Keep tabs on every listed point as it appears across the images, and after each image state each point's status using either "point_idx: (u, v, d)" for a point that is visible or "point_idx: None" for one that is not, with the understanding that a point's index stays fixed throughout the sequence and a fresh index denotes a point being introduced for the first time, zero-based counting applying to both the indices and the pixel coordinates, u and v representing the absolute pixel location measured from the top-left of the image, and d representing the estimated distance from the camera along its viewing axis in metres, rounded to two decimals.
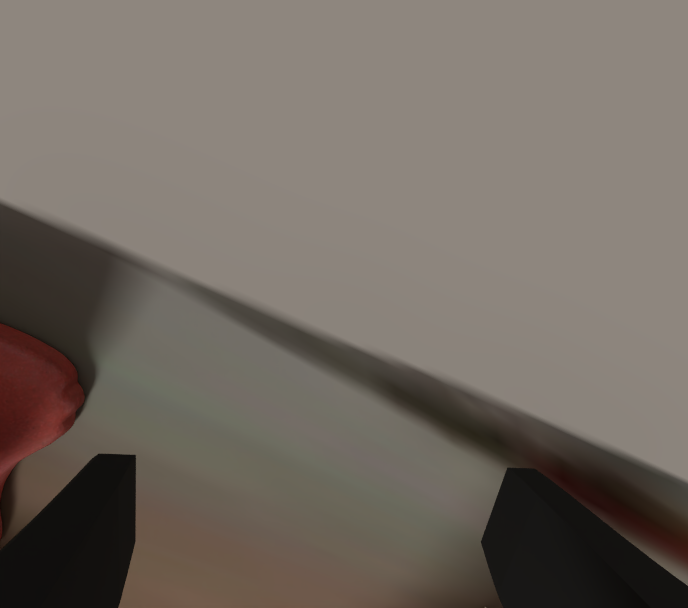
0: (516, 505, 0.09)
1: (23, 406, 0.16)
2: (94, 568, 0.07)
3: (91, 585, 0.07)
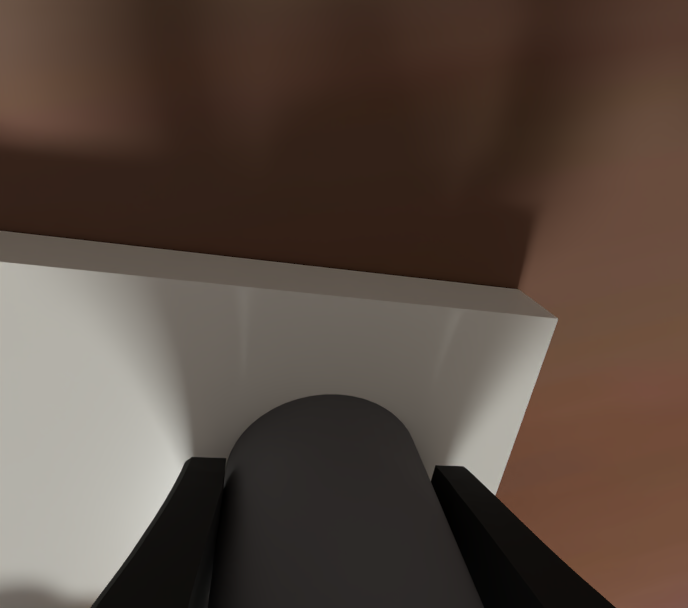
0: (441, 504, 0.09)
1: None
2: (207, 567, 0.07)
3: (204, 583, 0.07)
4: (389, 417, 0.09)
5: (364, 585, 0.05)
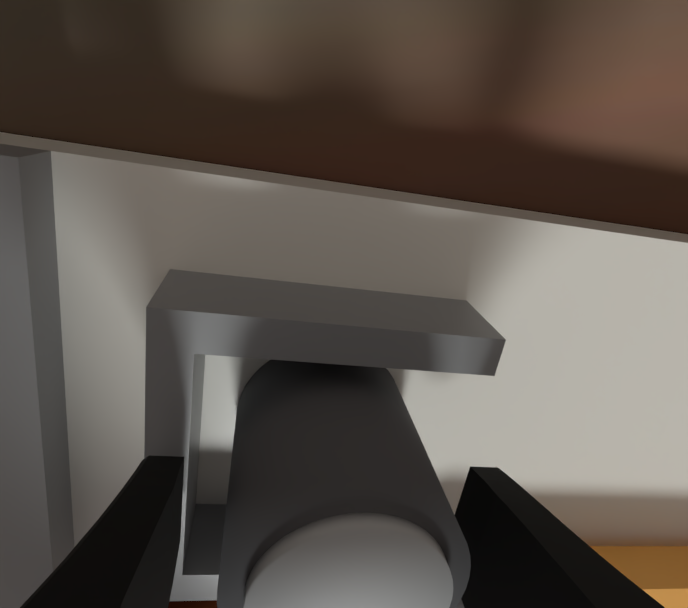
0: (477, 504, 0.09)
1: None
2: (155, 567, 0.07)
3: (153, 584, 0.07)
4: None
5: (353, 464, 0.07)
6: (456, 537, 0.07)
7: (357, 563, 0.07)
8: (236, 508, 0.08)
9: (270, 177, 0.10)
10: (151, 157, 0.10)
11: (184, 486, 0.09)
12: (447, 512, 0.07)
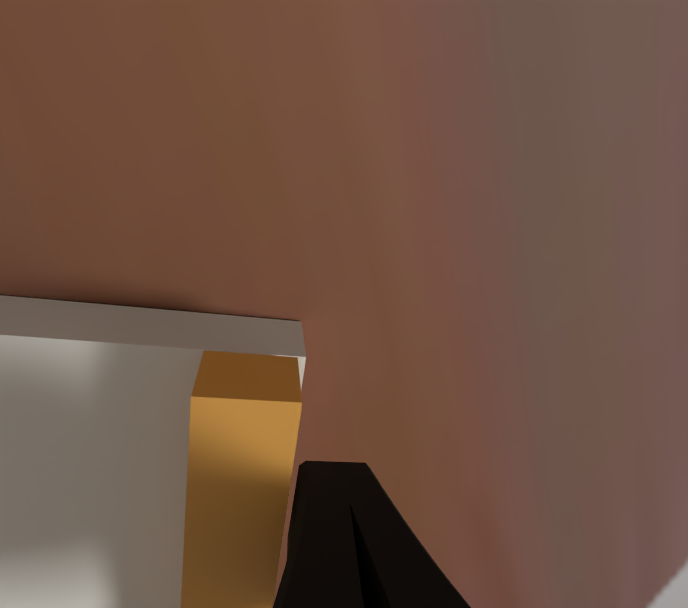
0: None
1: None
2: None
3: None
4: None
5: None
6: None
7: None
8: None
9: None
10: None
11: None
12: None
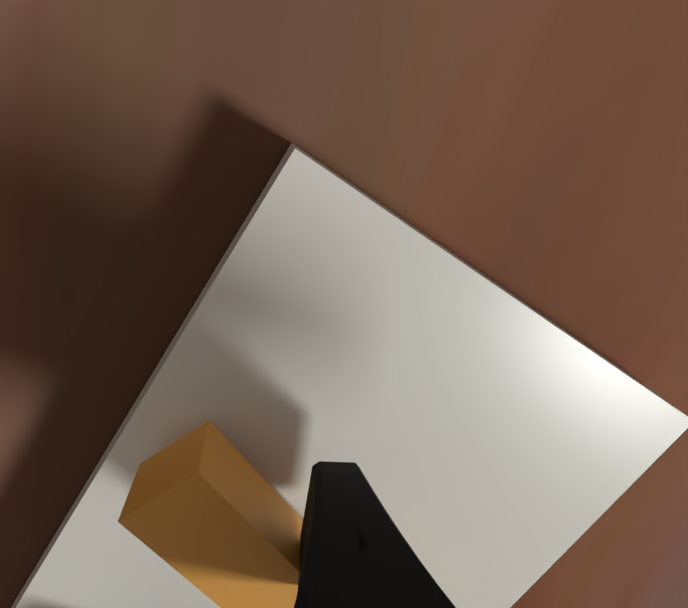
0: None
1: None
2: None
3: None
4: None
5: None
6: None
7: None
8: None
9: None
10: None
11: None
12: None
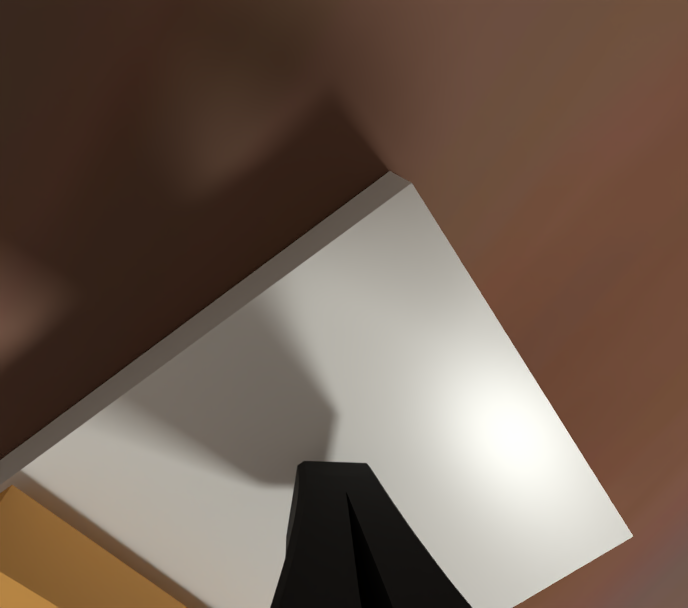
0: None
1: None
2: None
3: None
4: None
5: None
6: None
7: None
8: None
9: None
10: None
11: None
12: None
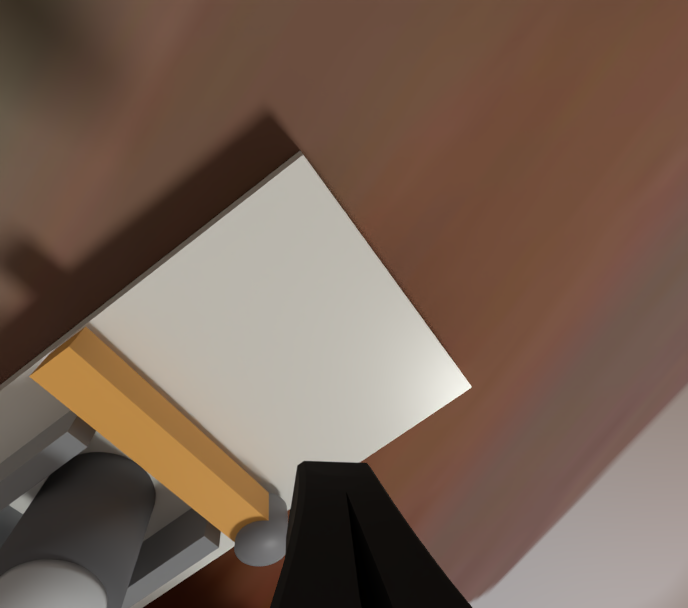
0: None
1: None
2: None
3: None
4: None
5: None
6: None
7: None
8: None
9: None
10: None
11: None
12: None
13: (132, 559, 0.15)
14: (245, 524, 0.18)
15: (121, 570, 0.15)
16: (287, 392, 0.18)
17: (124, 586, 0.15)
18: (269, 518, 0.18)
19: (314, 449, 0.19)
